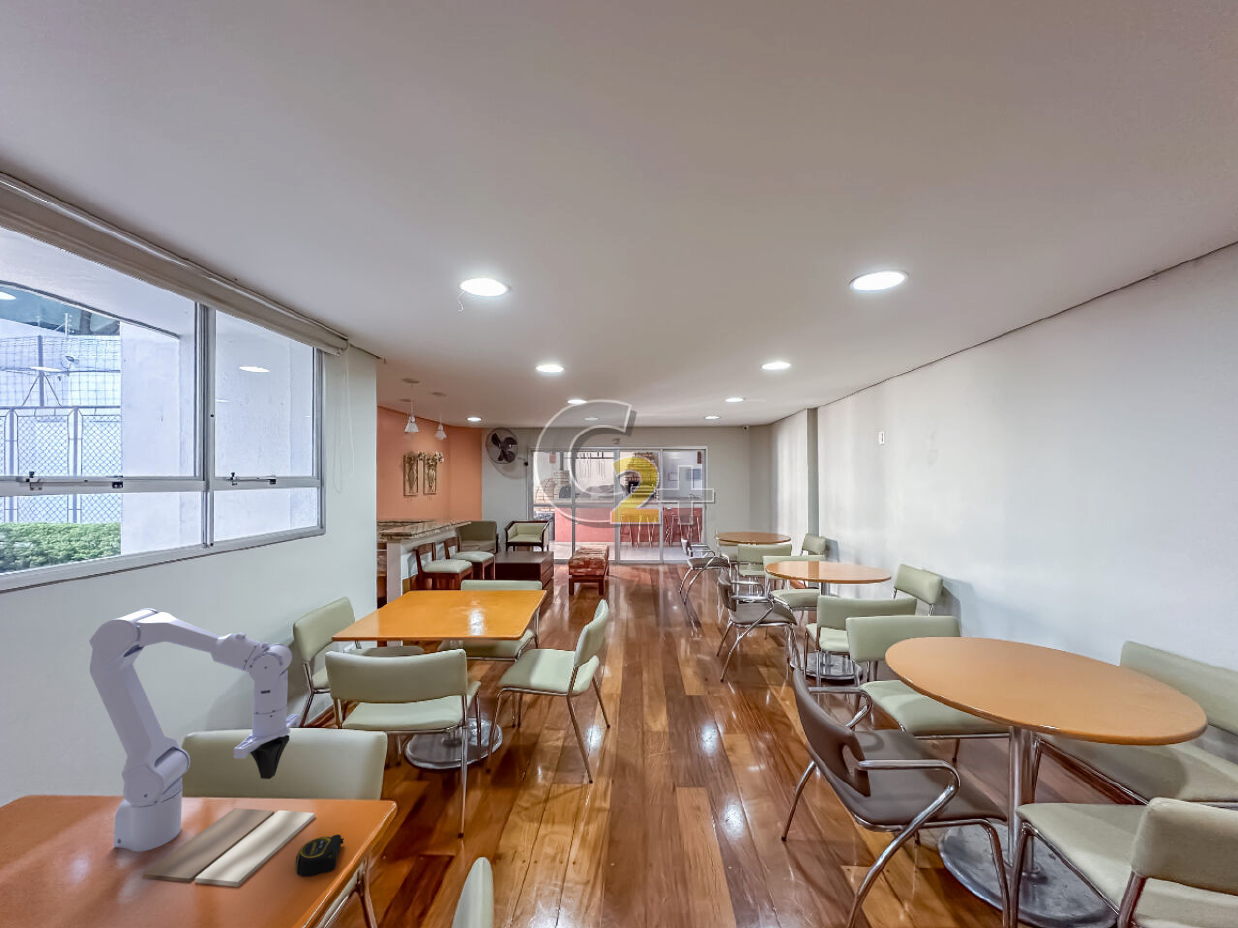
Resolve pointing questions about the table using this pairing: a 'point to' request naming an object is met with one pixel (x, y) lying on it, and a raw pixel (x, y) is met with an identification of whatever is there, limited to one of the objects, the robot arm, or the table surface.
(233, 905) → the table surface
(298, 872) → the tape measure
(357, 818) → the table surface
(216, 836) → the grey rectangular panel
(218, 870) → the plank
